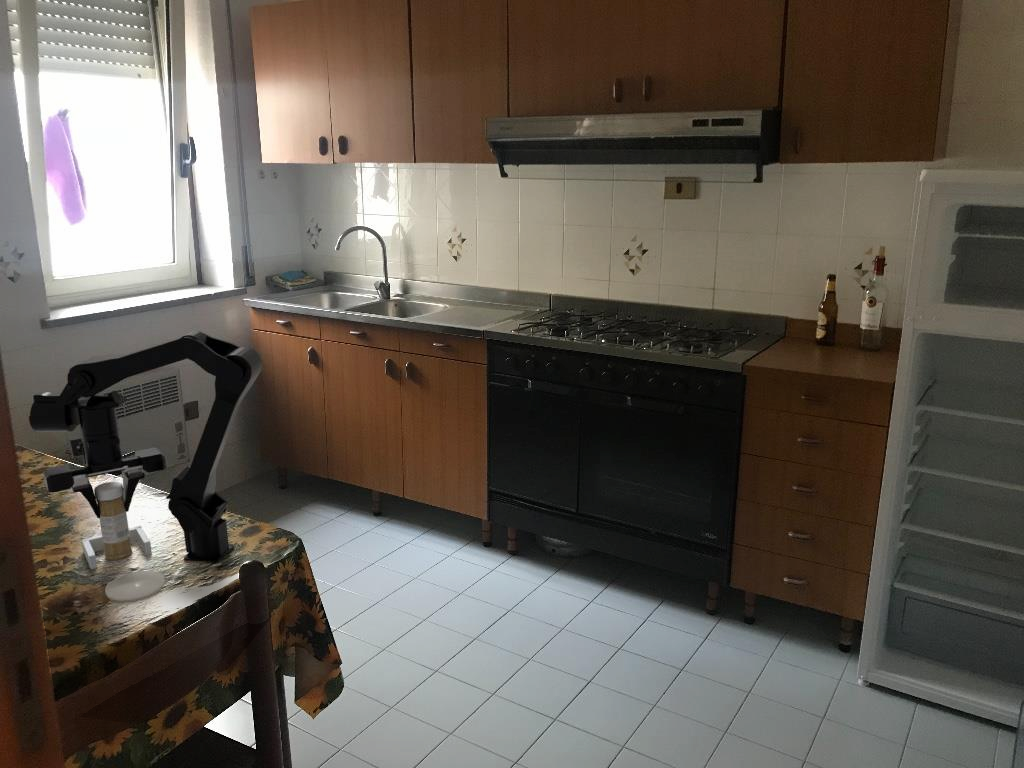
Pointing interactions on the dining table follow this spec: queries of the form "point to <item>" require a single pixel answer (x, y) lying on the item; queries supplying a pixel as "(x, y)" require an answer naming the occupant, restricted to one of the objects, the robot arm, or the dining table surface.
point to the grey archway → (97, 544)
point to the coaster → (135, 586)
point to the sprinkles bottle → (113, 520)
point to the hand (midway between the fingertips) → (112, 514)
